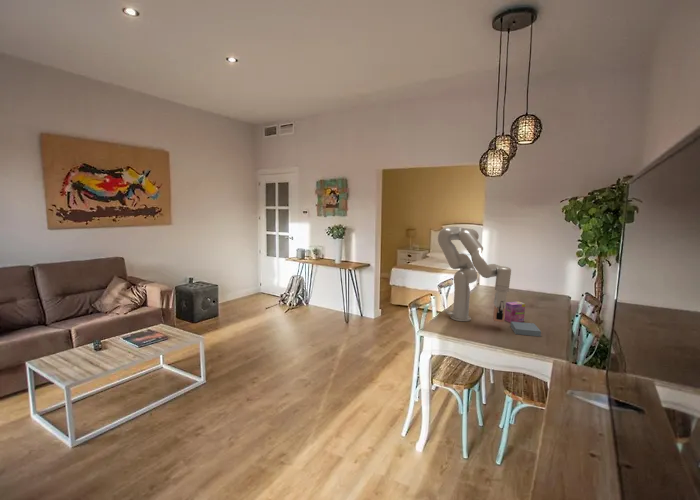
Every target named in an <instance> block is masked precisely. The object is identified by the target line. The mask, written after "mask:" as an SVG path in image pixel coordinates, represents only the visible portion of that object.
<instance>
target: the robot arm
mask: <svg viewBox="0 0 700 500" xmlns="http://www.w3.org/2000/svg"><path fill="white" fill-rule="evenodd" d="M479 237H480V236H479V232H478V231H477V230H475V229H474V228H472V229H471V228H465V227H459V226H447V227H444V228H442V229H441V230H440V231H439V232H438V235H437V242H438V243H437V244H438V246H439V247H440V249H441V250H442V252H443V255H444V256H445V259H446V261H447V264H448V265H449V267H450V268H451V269H453V270H458V269H459V270H458V271H456V272H454V275H453V284H454V285H453V287H454V291H453V293H454V294H453V306H452V307H453V308H452V310H445V314H447V315H449V316H450V319H452V320H454V321H457V322H469V321H471V320H472V317H471V316H470V313H469V311H470V298H471V296H470V295H471V289H470V284H473V283H474V282H476V281H477V280H478V274H479V275H480V276H481V277H482V278H484V279H489V278H495V285H494V290H495V294H494V299H493V305H494V306H495V307H496V308H497V307H498V312H497V317H496V319H499V320H502V318H503V308H505V307H506V302H507V296H508V295H507V294H508V292H509V291H510V290H509V289H510V283H511V282H510V281H511V275H512V268H511V267H508V266H504V265H503V266H501V265H498V264H496V263H490V264H488V263H487V262H486V260H485V259H484V257H483V251H484V247H483V246H482V244H481V243H480V242H479V240H478V239H479ZM452 241H460V242H461V244H462V245H463V247H464V248H465V249H466V251H467V252H468V254H469V255H470V256H471V257H469V255H467V254H465V253H460V252H459V251H458V249H457V247H456V245H455V244H454V243H453V242H452ZM499 306H500V307H501V308H500V307H499ZM499 309H500V310H499Z"/></svg>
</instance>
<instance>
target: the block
mask: <svg viewBox="0 0 700 500" xmlns="http://www.w3.org/2000/svg"><path fill="white" fill-rule="evenodd" d="M499 307H500V306H499ZM500 308H501V307H500ZM499 310H500V309H499ZM497 312H498V307H497V308H496V307H495V305H494V307H493V315H492V319H493V321H494V322H499V323H504V322H505V320H504V319H505V308H503V318H502V320H499V319H496V317H497Z"/></svg>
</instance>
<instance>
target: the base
mask: <svg viewBox="0 0 700 500" xmlns="http://www.w3.org/2000/svg"><path fill="white" fill-rule="evenodd" d="M510 328H511V329H512V331H513V333H514V334H515V335H520V336H531V337H542V335H541V334H542V331H541V330H540V328H539V327H538V326H537V325H536V324H535V323H533V322H511V323H510Z"/></svg>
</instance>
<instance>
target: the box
mask: <svg viewBox="0 0 700 500" xmlns="http://www.w3.org/2000/svg"><path fill="white" fill-rule="evenodd" d="M525 312H526V303H524V302H521V301H506V305H505V313H504V322H505V321H506V322H508V323H510V324H511V322H522V323H525V322H524V321H525Z"/></svg>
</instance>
